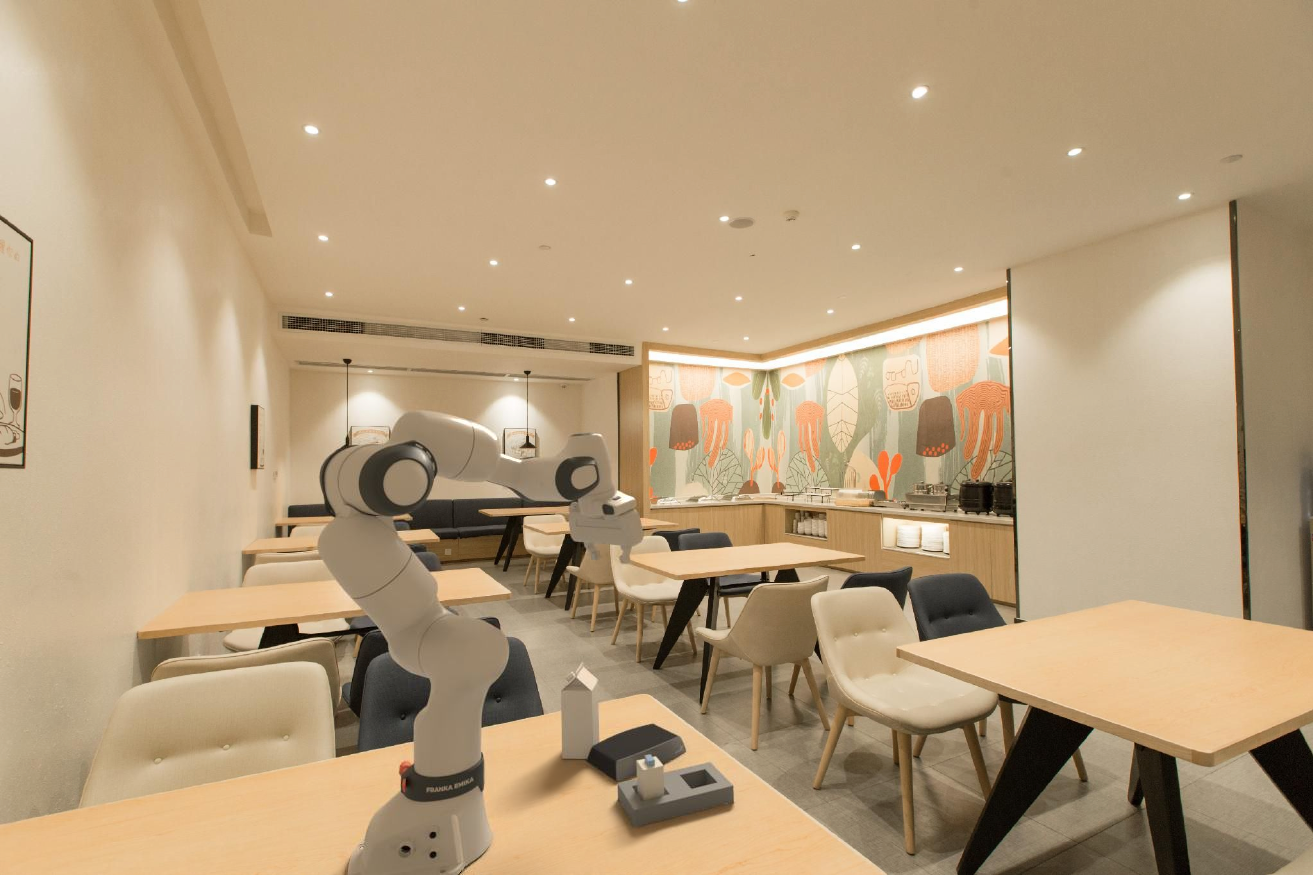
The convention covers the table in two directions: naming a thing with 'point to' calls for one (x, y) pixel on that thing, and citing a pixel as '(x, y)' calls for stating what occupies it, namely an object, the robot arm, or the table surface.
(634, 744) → the external hard drive
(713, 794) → the socket panel
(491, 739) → the table surface
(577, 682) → the milk carton
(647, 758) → the plug
